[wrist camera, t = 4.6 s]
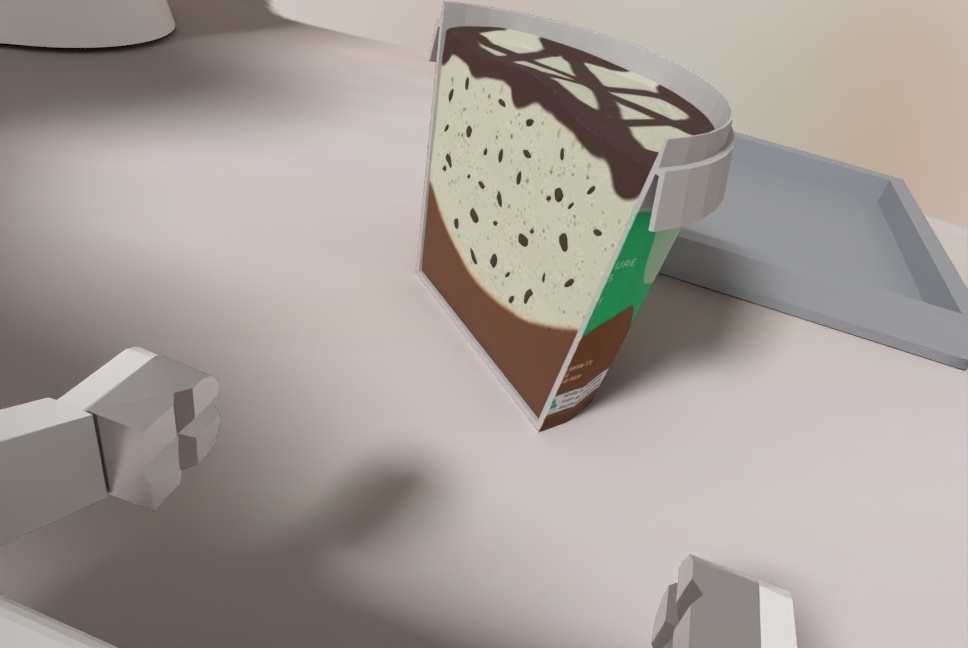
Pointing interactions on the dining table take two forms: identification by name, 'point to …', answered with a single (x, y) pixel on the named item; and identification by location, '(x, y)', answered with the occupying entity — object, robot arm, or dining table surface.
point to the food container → (558, 192)
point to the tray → (828, 251)
